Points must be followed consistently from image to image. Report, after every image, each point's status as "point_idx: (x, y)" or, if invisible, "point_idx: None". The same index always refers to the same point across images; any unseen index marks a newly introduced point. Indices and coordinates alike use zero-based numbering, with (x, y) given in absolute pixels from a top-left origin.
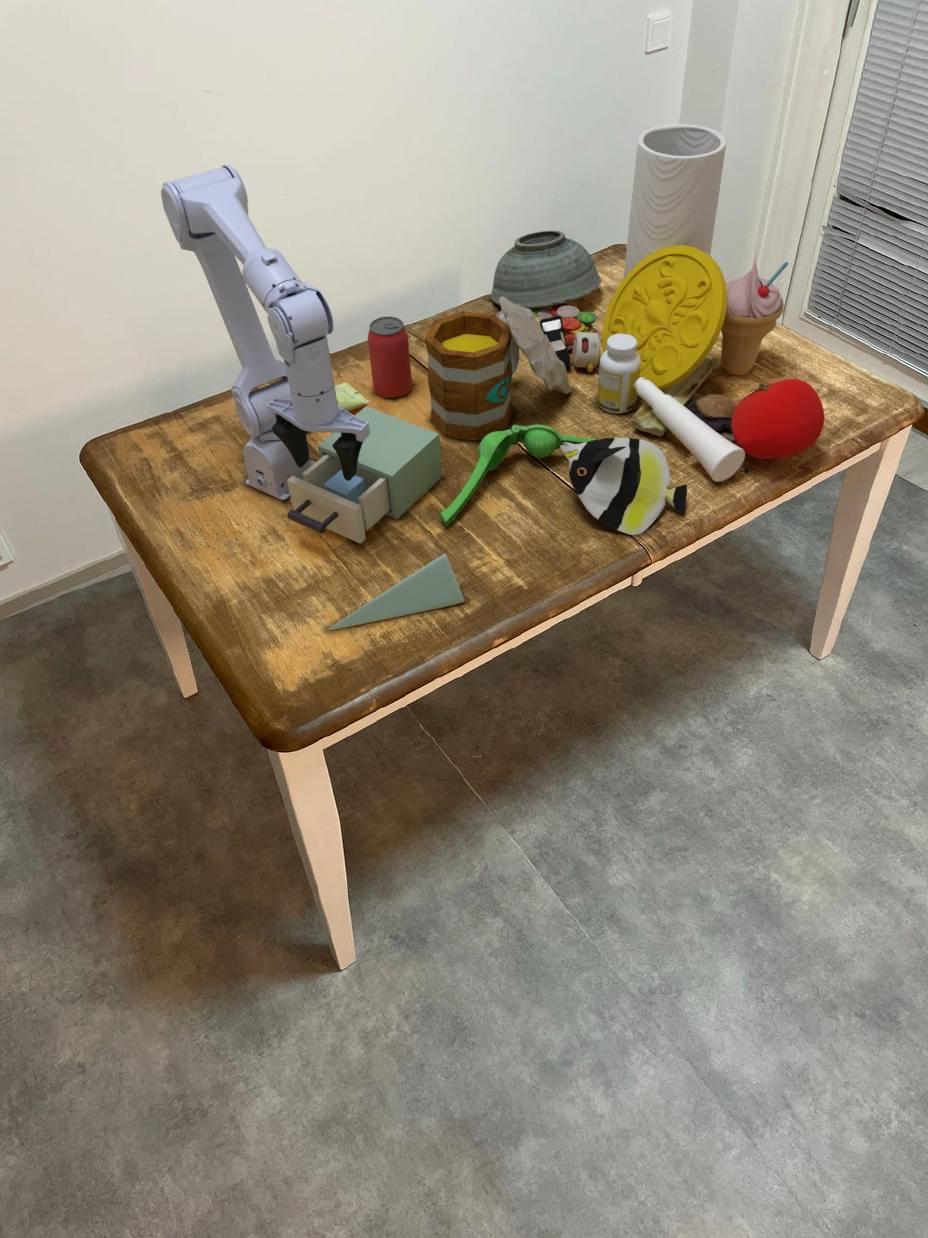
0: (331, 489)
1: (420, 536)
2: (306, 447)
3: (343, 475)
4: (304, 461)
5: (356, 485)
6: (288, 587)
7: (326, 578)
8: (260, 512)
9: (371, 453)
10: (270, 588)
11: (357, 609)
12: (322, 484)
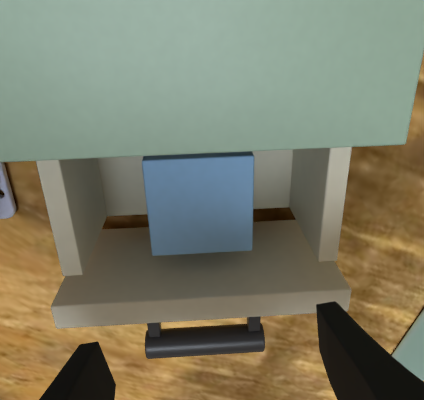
0: (191, 253)
1: (417, 115)
2: (78, 396)
3: (329, 378)
4: (105, 376)
5: (253, 196)
6: (240, 369)
7: (289, 322)
8: (8, 267)
9: (232, 66)
10: (213, 385)
11: (422, 380)
12: (92, 177)
